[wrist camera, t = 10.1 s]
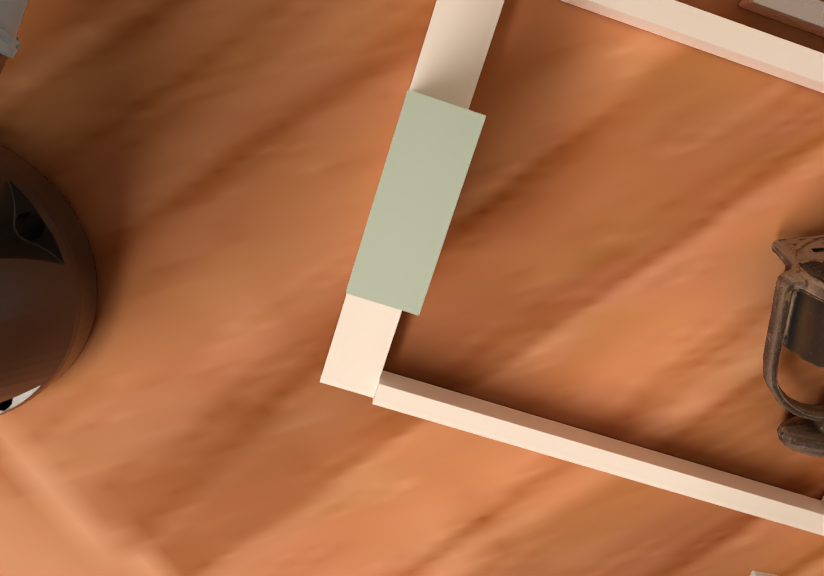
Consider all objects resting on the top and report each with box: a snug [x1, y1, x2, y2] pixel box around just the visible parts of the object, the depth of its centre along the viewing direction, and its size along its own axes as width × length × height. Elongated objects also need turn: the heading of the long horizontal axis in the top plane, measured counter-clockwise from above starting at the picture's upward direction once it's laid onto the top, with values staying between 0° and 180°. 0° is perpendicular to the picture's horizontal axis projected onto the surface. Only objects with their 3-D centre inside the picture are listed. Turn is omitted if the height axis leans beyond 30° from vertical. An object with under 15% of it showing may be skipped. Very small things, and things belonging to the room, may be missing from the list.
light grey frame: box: [320, 0, 824, 536], centre depth 31 cm, size 31×23×10 cm
